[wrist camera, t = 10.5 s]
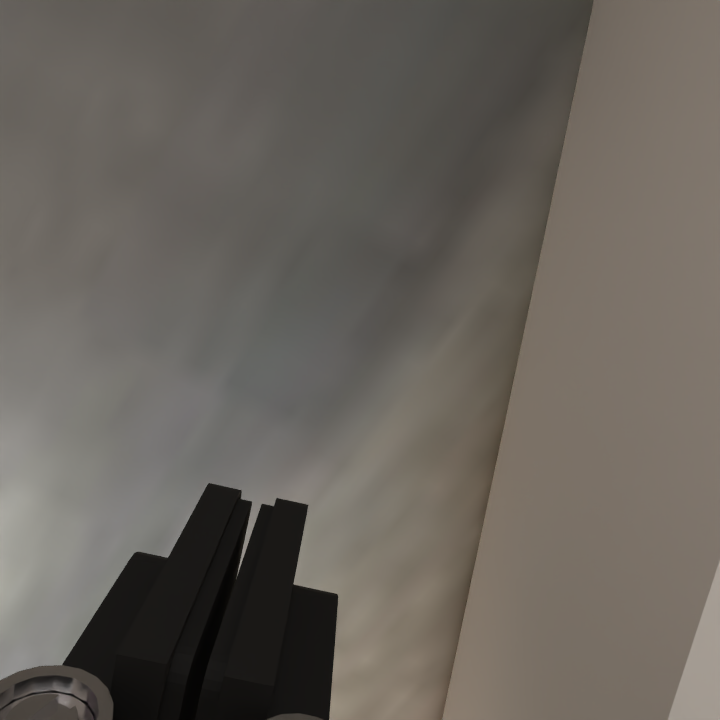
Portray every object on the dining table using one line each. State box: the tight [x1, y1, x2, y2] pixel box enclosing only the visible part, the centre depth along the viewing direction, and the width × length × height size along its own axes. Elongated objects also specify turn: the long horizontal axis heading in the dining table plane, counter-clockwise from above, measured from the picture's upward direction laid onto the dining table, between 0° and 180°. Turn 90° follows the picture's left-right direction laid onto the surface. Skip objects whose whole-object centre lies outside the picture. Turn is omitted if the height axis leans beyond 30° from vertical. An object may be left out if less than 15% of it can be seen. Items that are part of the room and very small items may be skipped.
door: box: [442, 0, 720, 720], centre depth 9 cm, size 26×2×7 cm, turn 172°
